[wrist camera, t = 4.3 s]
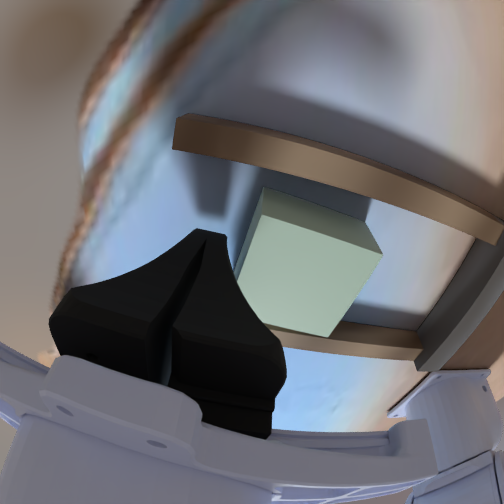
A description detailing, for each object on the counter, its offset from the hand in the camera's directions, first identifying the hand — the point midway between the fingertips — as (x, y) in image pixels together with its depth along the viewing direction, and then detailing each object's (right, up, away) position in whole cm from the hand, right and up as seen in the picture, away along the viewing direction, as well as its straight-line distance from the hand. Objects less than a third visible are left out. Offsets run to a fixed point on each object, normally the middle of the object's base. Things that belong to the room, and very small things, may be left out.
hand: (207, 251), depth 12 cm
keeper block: (+4, 0, +2) cm, 4 cm away
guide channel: (+7, -1, +2) cm, 7 cm away
